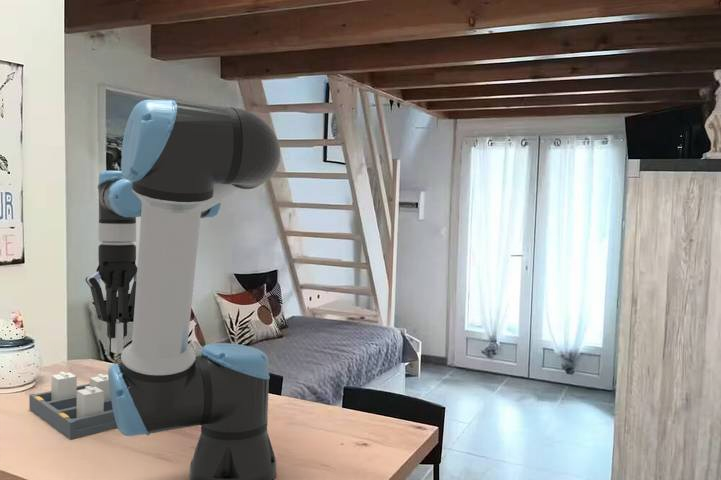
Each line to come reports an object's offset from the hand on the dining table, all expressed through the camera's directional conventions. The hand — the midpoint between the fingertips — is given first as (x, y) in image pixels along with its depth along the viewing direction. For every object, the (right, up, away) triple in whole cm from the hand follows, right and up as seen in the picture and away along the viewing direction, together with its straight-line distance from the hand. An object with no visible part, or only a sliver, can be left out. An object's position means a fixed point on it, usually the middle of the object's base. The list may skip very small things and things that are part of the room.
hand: (117, 352), depth 133 cm
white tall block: (-6, -13, +6) cm, 15 cm away
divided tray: (-9, -15, +3) cm, 17 cm away
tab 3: (-15, -13, +7) cm, 21 cm away
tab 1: (-5, -14, -3) cm, 15 cm away
